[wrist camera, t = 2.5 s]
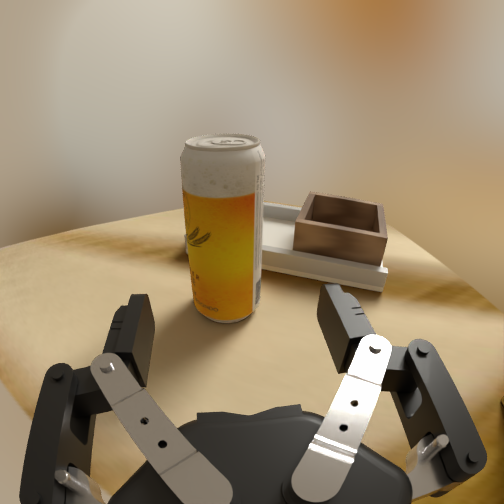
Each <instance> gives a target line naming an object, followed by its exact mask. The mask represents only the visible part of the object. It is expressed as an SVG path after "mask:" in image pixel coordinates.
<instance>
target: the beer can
mask: <svg viewBox="0 0 504 504" xmlns="http://www.w3.org/2000/svg"><path fill="white" fill-rule="evenodd" d="M180 161H181V177H182V190H183V203H184V215H185V226H186V237H187V247H188V256H189V266H190V274H191V283H192V291H193V299H194V304H195V307H196V308H197V310H198V311H199V312H200V313H202V314H203V315H205V316H206V317H207V318H209V319H210V320H213V321H215V322H220V323H233V322H238V321H240V320H243V319H245V318H246V317H248V316H249V315H250V314H251V313H252V312H253V311H255V309H256V308H257V307H258V305H259V303H260V289H261V263H262V236H263V208H264V176H265V175H264V174H265V154H264V152H263V150H262V148H261V145H260V140H259V139H258V138H256V137H253V136H249V135H242V134H211V135H203V136H198V137H194V138H191V139H188V140H187V141H186V142H185V148H184V150H183V152H182V155H181V157H180Z"/></svg>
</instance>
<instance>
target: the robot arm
mask: <svg viewBox="0 0 504 504" xmlns="http://www.w3.org/2000/svg"><path fill="white" fill-rule="evenodd" d="M317 318H318V322H319V325H320V327H321V330H322V333H323V335H324V338H325V340H326V343H327V346H328V348H329V351H330V353H331V356H332V359H333V361H334V364H335V367H336V369H337V372H338V374H340V373H346V375H345V378H344V380H343V382H342V384H341V386H340V388H339V390H338V392H337V395H336V397H335V399H334V401H333V403H332V405H331V407H330V409H329V411H328V413H327V415H326V417H323V416H321V415H318V414H315V413H312V412H307V411H302V409H301V405H300V404H298V405H290V406H283V407H275V408H272V409H269V410H266V411H263V412H260V413H257V414H254V415H241V414H234V413H227V412H204V413H197V420H194V421H191V422H188V423H186V424H184V425H182V426H180V427H179V428H176V427H175V426H174V424H173V423H172V422H171V421H170V420H169V418H168V417H167V416H166V415H165V414H164V412H163V411H162V410H161V409H160V408H159V406H158V405H157V404H156V403H155V401H154V400H153V399H152V397H151V396H150V395H149V394H148V392H147V391H146V390H145V389H144V388H143V389H142V388H141V387H146V385H147V378H148V371H149V364H150V357H151V351H152V344H153V338H154V332H155V322H154V317H153V313H152V309H151V305H150V301H149V297H148V295H147V294H132V295H131V296H130V299H129V303H128V305H127V306H121V307H120V308H119V309H118V310H117V311H116V312H115V314H114V317H113V320H112V323H111V327H110V330H109V333H108V336H107V340H106V343H105V346H104V350H103V353H102V354H101V355H99V356H97V357H96V358H95V359H94V360H93V361H92V363H91V366H88V367H85V368H80V369H76V370H73V369H72V368H71V367H70V366H69V365H68V364H65V363H58V364H55V365H53V366H51V367H50V368H49V369H48V370H47V372H46V374H45V377H44V381H43V384H42V387H41V391H40V394H39V398H38V402H37V405H36V409H35V413H34V417H33V421H32V425H31V430H30V435H29V439H28V444H27V449H26V454H25V460H24V465H23V472H22V478H21V486H20V494H19V498H20V502H21V504H105V503H104V501H103V499H102V497H101V490H100V487H99V485H98V484H97V483H96V482H95V481H94V480H93V479H92V478H90V466H91V455H92V445H93V436H94V427H95V419H96V414H99V413H103V412H108V411H112V410H113V411H114V412H115V414H116V415H117V417H118V418H119V420H120V421H121V423H122V424H123V426H124V427H125V429H126V430H127V432H128V433H129V435H130V436H131V438H132V439H133V441H134V442H135V443H136V445H137V446H138V448H139V449H140V450H141V452H142V453H143V454H144V456H145V457H146V458H147V460H146V462H145V463H144V464H143V465H142V466H141V467H140V468H139V469H138V470H137V471H136V472H135V473H134V474H133V475H132V476H131V477H130V478H129V479H128V481H127V482H126V483H125V484H124V485H123V486H122V487H121V488H120V489H119V490H118V491H117V492H116V493H115V494H114V495H113V496H112V497H111V498H110V500H109V502H108V504H411V502H414V501H416V500H419V499H422V498H424V497H427V496H431V497H440V496H443V495H444V494H446V493H448V492H449V491H451V490H452V489H454V488H456V487H457V486H459V485H460V484H462V483H463V482H465V481H466V480H468V479H469V478H471V477H472V476H474V475H475V474H477V473H478V472H480V471H481V470H482V469H483V468H484V466H485V464H486V461H487V453H486V450H485V448H484V445H483V443H482V441H481V438H480V436H479V434H478V432H477V429H476V427H475V425H474V423H473V421H472V419H471V416H470V414H469V412H468V410H467V408H466V406H465V404H464V402H463V400H462V398H461V396H460V394H459V392H458V390H457V388H456V386H455V384H454V382H453V380H452V378H451V376H450V375H449V373H448V371H447V369H446V367H445V365H444V363H443V362H442V360H441V358H440V356H439V354H438V353H437V351H436V349H435V347H434V346H433V345H432V344H431V343H430V342H428V341H426V340H423V339H416V340H413V341H411V342H410V344H409V346H408V347H398V346H391V345H390V343H389V342H388V341H387V340H386V339H385V338H383V337H381V336H378V335H376V333H375V331H374V329H373V328H372V326H371V324H370V322H369V320H368V319H367V317H366V315H365V314H364V311H363V310H362V308H361V306H360V304H359V302H358V301H357V299H356V298H355V297H353V296H352V295H351V294H350V293H343V291H342V289H341V287H340V285H339V284H338V283H333V284H323V285H322V286H321V290H320V296H319V302H318V307H317ZM380 391H389V392H390V393H391V395H392V398H393V400H394V403H395V406H396V408H397V411H398V414H399V416H400V419H401V422H402V425H403V427H404V430H405V433H406V436H407V439H408V442H409V445H410V447H411V450H410V451H409V453H408V454H407V457H406V473H405V472H404V471H403V470H402V469H401V468H399V467H398V466H396V465H395V464H393V463H392V462H390V461H389V460H387V459H385V458H384V457H382V456H381V455H379V454H378V453H376V452H375V451H373V450H372V449H370V448H369V447H367V446H366V445H364V444H363V443H361V440H362V437H363V435H364V433H365V430H366V428H367V425H368V423H369V420H370V417H371V415H372V412H373V409H374V407H375V404H376V401H377V398H378V395H379V393H380Z"/></svg>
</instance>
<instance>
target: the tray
mask: <svg viewBox="0 0 504 504" xmlns="http://www.w3.org/2000/svg"><path fill="white" fill-rule="evenodd" d="M301 209H302V208H300V207H294V206H287V205H281V204H274V203H267V202H264V208H263V236H262V263H261V269H265V270H270V271H275V272H280V273H285V274H290V275H295V276H300V277H305V278H310V279H316V280H321V281H326V282H331V283H338V284H341V285H347V286H352V287H357V288H362V289H368V290H373V291H378V292H382V291H383V288H384V285H385V281H386V278H387V275H388V269H387V268H384V267H383V265H382V263H381V266H380V267H379V266H374V265H369V264H363V263H358V262H353V261H347V260H342V259H337V258H331V257H326V256H321V255H315V254H310V253H305V252H299V251H294V250H293V241H294V230H295V221H296V219H297V217H298V215H299V213H300V211H301ZM184 236H185V246H186V253H187V254H188V247H187V237H186V234H185V235H184Z"/></svg>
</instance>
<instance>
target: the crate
mask: <svg viewBox="0 0 504 504" xmlns="http://www.w3.org/2000/svg"><path fill="white" fill-rule="evenodd" d="M387 239H388V237H387V229H386V222H385V215H384V208H383V204H380V203H374V202H369V201H364V200H358V199H353V198H347V197H341V196H335V195H329V194H323V193H317V192H310V193H309V195H308V197H307V199H306V201H305V203H304V205H303V207H302V209H301V211H300V213H299V215H298V217H297V219H296V221H295V230H294V241H293V250H294V251H299V252H305V253H310V254H315V255H321V256H326V257H331V258H337V259H342V260H347V261H353V262H358V263H363V264H369V265H374V266H379V267H380V266H381V263H382V259H383V255H384V251H385V247H386V243H387Z"/></svg>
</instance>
